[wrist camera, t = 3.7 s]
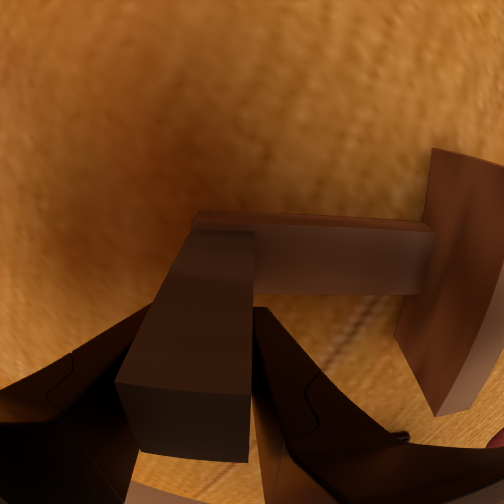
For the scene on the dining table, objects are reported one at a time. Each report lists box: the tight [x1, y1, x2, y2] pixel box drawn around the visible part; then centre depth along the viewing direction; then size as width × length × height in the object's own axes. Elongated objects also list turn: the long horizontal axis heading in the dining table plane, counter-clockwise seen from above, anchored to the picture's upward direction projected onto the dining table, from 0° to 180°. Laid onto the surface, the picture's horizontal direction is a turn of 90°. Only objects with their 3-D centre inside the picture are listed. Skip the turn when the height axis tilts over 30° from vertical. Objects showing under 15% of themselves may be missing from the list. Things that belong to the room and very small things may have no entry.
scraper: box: [114, 148, 504, 463], centre depth 10 cm, size 10×12×10 cm
